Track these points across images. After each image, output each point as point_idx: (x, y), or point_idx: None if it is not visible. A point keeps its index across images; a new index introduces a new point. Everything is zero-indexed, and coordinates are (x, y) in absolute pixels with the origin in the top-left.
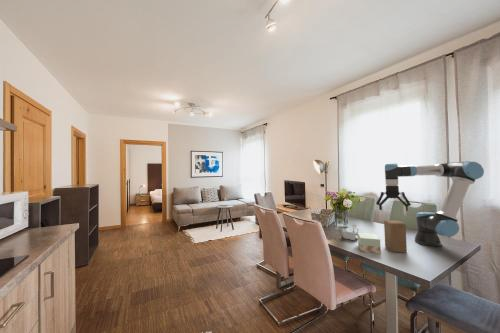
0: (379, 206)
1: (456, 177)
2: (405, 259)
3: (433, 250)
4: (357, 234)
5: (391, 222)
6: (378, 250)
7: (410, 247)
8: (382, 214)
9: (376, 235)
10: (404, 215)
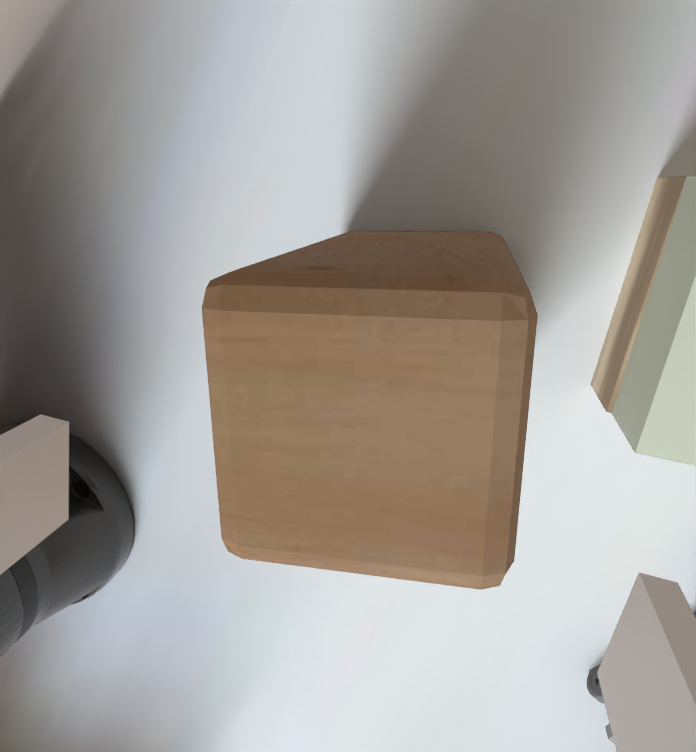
0: None
1: None
2: (452, 29)
3: (77, 329)
4: None
5: (454, 376)
6: None
7: None
8: (670, 591)
9: (667, 383)
10: (67, 466)
